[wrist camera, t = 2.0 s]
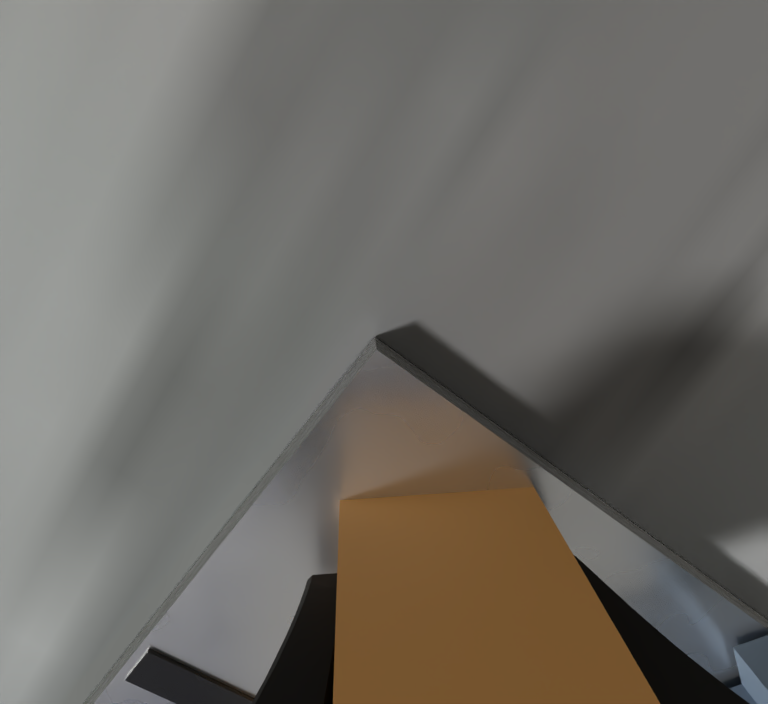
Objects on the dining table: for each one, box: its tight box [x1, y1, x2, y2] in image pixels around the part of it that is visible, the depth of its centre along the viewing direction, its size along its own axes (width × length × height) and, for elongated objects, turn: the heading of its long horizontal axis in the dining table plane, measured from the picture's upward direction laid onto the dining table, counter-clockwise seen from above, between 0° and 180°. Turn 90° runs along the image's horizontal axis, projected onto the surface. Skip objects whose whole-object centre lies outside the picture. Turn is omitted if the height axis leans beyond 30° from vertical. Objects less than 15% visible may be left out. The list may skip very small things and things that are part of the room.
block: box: [333, 487, 660, 704], centre depth 9 cm, size 4×4×5 cm
